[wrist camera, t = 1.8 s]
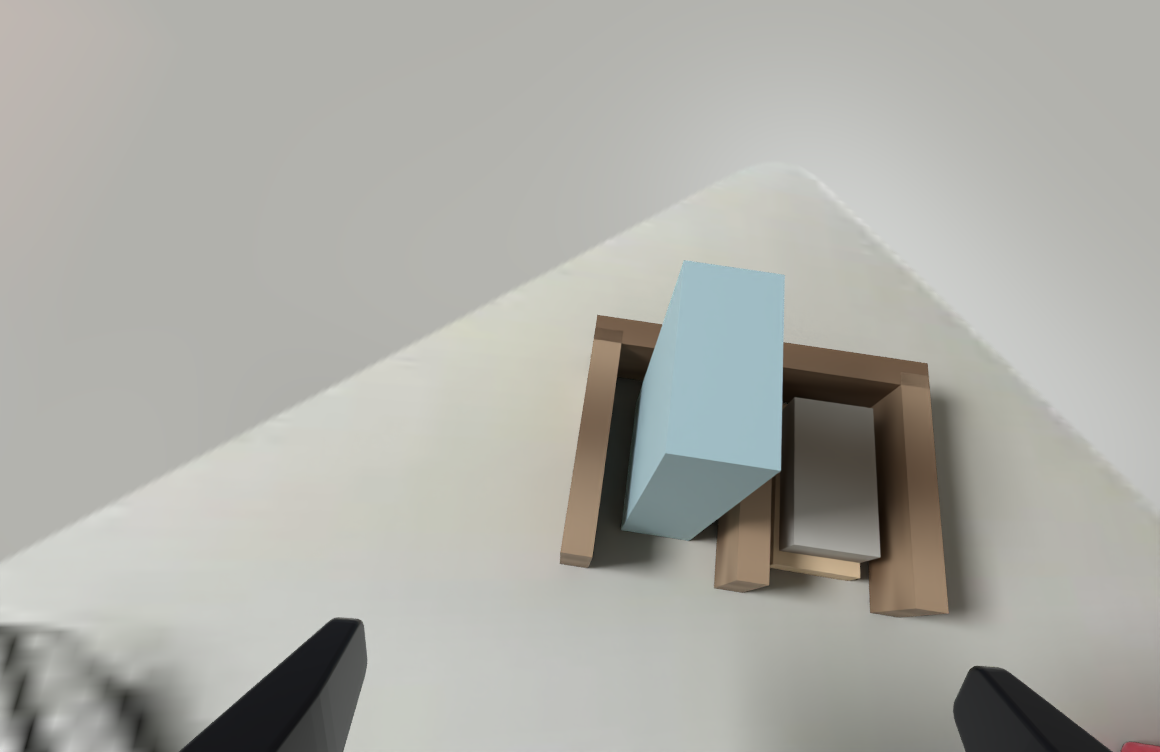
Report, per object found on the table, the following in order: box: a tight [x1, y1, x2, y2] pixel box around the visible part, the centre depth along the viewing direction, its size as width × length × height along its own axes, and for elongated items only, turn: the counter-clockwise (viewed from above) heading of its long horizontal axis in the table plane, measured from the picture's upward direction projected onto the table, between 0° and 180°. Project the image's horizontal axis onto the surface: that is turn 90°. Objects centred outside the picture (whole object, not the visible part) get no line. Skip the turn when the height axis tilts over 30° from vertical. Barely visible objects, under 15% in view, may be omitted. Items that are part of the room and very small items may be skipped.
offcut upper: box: [779, 397, 881, 563], centre depth 22 cm, size 5×3×2 cm, turn 172°
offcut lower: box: [770, 404, 860, 581], centre depth 23 cm, size 6×3×2 cm, turn 171°
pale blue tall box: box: [621, 260, 785, 541], centre depth 19 cm, size 5×2×10 cm, turn 172°
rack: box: [560, 315, 949, 617], centre depth 22 cm, size 8×12×3 cm
